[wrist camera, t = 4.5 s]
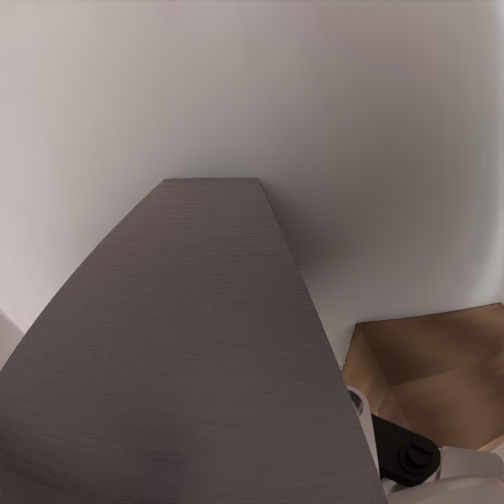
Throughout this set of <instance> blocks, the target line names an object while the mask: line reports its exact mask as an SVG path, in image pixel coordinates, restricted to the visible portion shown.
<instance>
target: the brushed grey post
mask: <svg viewBox="0 0 504 504" xmlns="http://www.w3.org/2000/svg"><path fill="white" fill-rule="evenodd" d="M0 504H388V500H387V497H386V494H385V491H384V488H383V485H382V482H381V480H380V477H379V474H378V471H377V468H376V465H375V462H374V459H373V456H372V454H371V451H370V448H369V445H368V442H367V440H366V437H365V434H364V431H363V429H362V426H361V423H360V420H359V418H358V415H357V412H356V410H355V407H354V404H353V402H352V399H351V397H350V394H349V391H348V389H347V386H346V384H345V381H344V378H343V376H342V373H341V371H340V368H339V366H338V363H337V361H336V358H335V356H334V353H333V351H332V348H331V346H330V343H329V341H328V338H327V336H326V333H325V331H324V328H323V326H322V323H321V321H320V319H319V316H318V314H317V311H316V309H315V307H314V304H313V302H312V299H311V297H310V295H309V292H308V290H307V288H306V285H305V283H304V281H303V278H302V276H301V274H300V271H299V269H298V267H297V264H296V262H295V260H294V257H293V255H292V253H291V251H290V248H289V246H288V244H287V242H286V239H285V237H284V235H283V233H282V230H281V228H280V226H279V224H278V221H277V219H276V217H275V215H274V213H273V210H272V208H271V206H270V204H269V202H268V199H267V197H266V195H265V193H264V191H263V189H262V186H261V184H260V182H259V180H258V178H188V179H164V180H163V181H162V182H161V183H160V184H159V185H158V186H157V187H155V188H154V189H153V190H152V191H151V192H150V193H149V194H148V195H147V196H146V197H145V198H144V199H143V200H142V201H141V202H140V203H139V204H138V205H137V206H136V207H135V208H134V209H133V210H132V211H131V212H130V213H129V214H128V215H127V216H126V217H125V218H124V219H123V220H122V221H121V222H120V223H119V224H118V225H117V226H116V227H115V228H114V229H113V230H112V231H111V232H110V233H109V234H108V235H107V236H106V237H105V238H104V239H103V240H102V242H101V243H100V244H99V245H98V246H97V247H96V248H95V249H94V250H93V251H92V252H91V254H90V255H89V256H88V257H87V258H86V259H85V260H84V261H83V263H82V264H81V265H80V266H79V267H78V268H77V269H76V271H75V272H74V273H73V274H72V275H71V276H70V278H69V279H68V280H67V281H66V282H65V284H64V285H63V286H62V287H61V288H60V290H59V291H58V292H57V293H56V295H55V296H54V297H53V298H52V300H51V301H50V302H49V303H48V305H47V306H46V307H45V309H44V310H43V311H42V312H41V314H40V315H39V316H38V318H37V319H36V320H35V322H34V323H33V324H32V326H31V327H30V329H29V330H28V331H27V333H26V334H25V336H24V337H23V338H22V340H21V342H20V343H19V344H18V346H17V347H16V349H15V350H14V352H13V353H12V354H11V356H10V357H9V359H8V360H7V362H6V364H5V365H4V367H3V368H2V370H1V371H0Z"/></svg>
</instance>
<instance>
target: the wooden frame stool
mask: <svg viewBox="0 0 504 504" xmlns="http://www.w3.org/2000/svg"><path fill="white" fill-rule="evenodd" d="M342 376H343V378H344V381H345V384H346V385H349V386H351V387H354V388H356V389H358V390H359V391H361V392H362V393H363V394H364V395H365V397H366V398H367V400H368V403H369V407H370V412H371V413H372V414H374V415H376V416H378V417H381V418H383V419H385V420H387V421H389V422H392V423H394V424H396V425H398V426H401V427H403V428H405V429H408V430H410V431H412V432H415V433H417V434H420V435H422V436H424V437H427V438H428V439H430V440H432V441H433V442H434V443H435V444H436V445H437V447H438V448H441V449H442V448H443V447H444V446H449V447H456V448H462V449H469V450H477V451H486V452H490V451H491V450H493V449H495V448H496V447H498V446H499V445H501V444H502V443H504V305H503V304H502V303H497V304H492V305H487V306H481V307H476V308H470V309H465V310H459V311H453V312H446V313H440V314H433V315H426V316H419V317H411V318H403V319H395V320H386V321H377V322H367V323H356V327H355V330H354V334H353V338H352V341H351V344H350V348H349V351H348V354H347V358H346V361H345V364H344V367H343V370H342Z"/></svg>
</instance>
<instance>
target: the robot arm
mask: <svg viewBox="0 0 504 504" xmlns="http://www.w3.org/2000/svg"><path fill="white" fill-rule="evenodd" d="M346 386H347V389H348V391H349V394H350V397H351V399H352V402H353V404H354V407H355V410H356V412H357V415H358V418H359V420H360V423H361V426H362V429H363V431H364V434H365V437H366V440H367V442H368V445H369V448H370V451H371V454H372V456H373V459H374V462H375V465H376V468H377V471H378V474H379V477H380V480H381V482H382V485H383V488H384V491H385V494H386V497H387V500H388V504H504V463H503V461H502V459H501V457H499V456H498V455H497V454H496V453H492V452H486V451H477V450H469V449H462V448H456V447H449V446H444V447H443V448H442V449H441V448H438V447H437V445H436V444H435V443H434V442H433V441H432V440H430V439H428V438H427V437H424V436H422V435H420V434H417V433H415V432H412V431H410V430H408V429H405V428H403V427H401V426H398V425H396V424H394V423H392V422H389V421H387V420H385V419H383V418H381V417H378V416H376V415H374V414H372V413H371V412H370V407H369V403H368V400H367V398H366V397H365V395H364V394H363V393H362V392H361V391H359V390H358V389H356V388H354V387H351V386H349V385H346Z"/></svg>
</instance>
